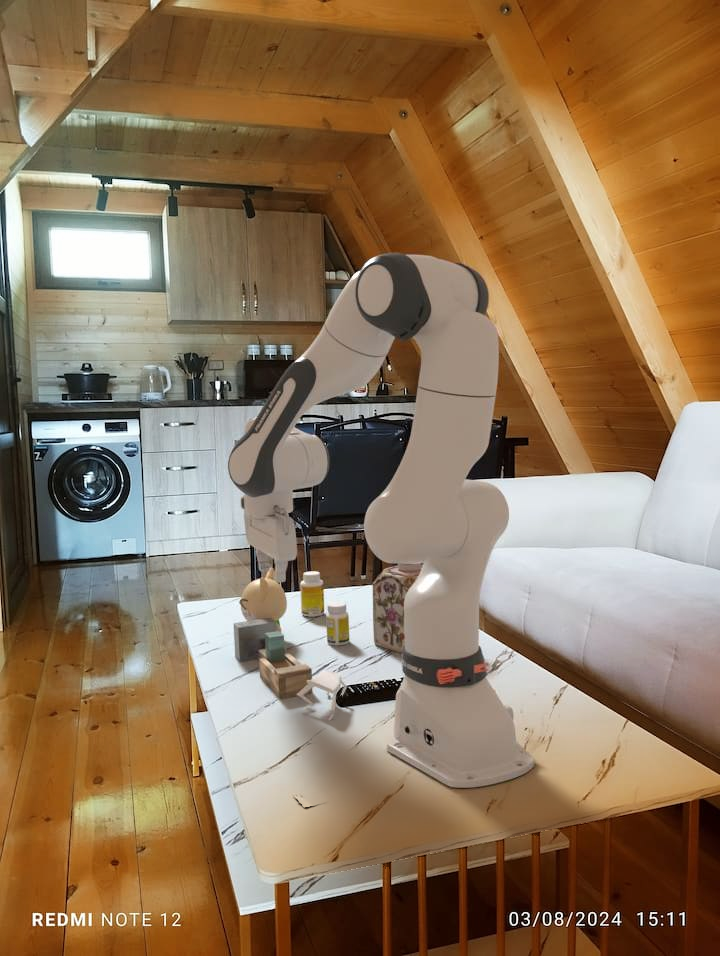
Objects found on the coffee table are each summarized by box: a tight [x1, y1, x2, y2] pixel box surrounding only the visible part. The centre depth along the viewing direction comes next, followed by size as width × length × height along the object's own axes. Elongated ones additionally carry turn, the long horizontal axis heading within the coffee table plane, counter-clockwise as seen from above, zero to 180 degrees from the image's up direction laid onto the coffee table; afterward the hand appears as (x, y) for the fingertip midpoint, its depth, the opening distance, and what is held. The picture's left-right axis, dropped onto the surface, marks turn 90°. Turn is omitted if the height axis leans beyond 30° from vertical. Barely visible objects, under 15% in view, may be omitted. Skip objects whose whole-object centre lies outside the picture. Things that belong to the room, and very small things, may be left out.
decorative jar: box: [372, 563, 423, 654], centre depth 162 cm, size 12×12×18 cm
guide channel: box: [258, 653, 313, 700], centre depth 142 cm, size 12×6×4 cm, turn 24°
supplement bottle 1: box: [299, 570, 325, 618], centre depth 188 cm, size 6×6×10 cm
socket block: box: [233, 618, 277, 662], centre depth 159 cm, size 4×8×7 cm, turn 114°
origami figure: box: [296, 668, 348, 721], centre depth 131 cm, size 12×8×5 cm
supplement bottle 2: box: [325, 601, 350, 646], centre depth 166 cm, size 5×5×8 cm
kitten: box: [239, 567, 288, 633], centre depth 169 cm, size 15×10×15 cm
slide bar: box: [258, 631, 293, 669], centre depth 145 cm, size 16×3×7 cm, turn 24°
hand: (271, 576), depth 146 cm, fingers open, 8 cm apart
